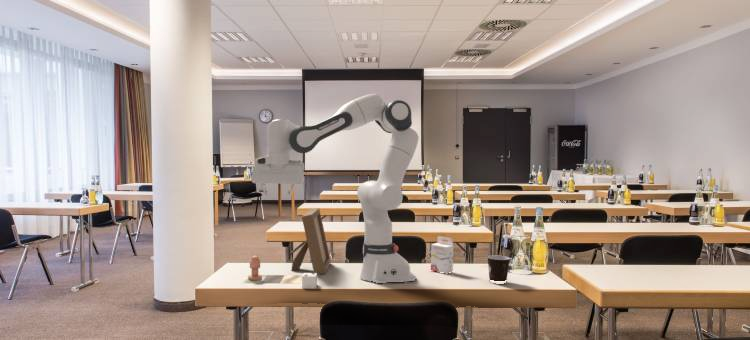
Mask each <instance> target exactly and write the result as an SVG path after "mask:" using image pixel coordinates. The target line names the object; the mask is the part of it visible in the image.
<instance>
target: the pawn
mask: <svg viewBox="0 0 750 340" xmlns="http://www.w3.org/2000/svg"><path fill="white" fill-rule="evenodd" d="M260 268H261V259H260V257H259V256H258V255H253V256H252V257H251V258H250V259H249V269H251V274H248V275H249V276H248V275H247V276H248V280H251V281H257V280H261V279H262V275H263V274H260V273H259V269H260Z"/></svg>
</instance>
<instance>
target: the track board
mask: <svg viewBox="0 0 750 340" xmlns="http://www.w3.org/2000/svg"><path fill="white" fill-rule="evenodd" d="M249 275H250V274H248V275H247V276H246V277H245V279H244V280H243V281H242V284H300V283H301V281H302V276H303V274H301V275H300V274H299V275H298V274H297V275H294V274H291V275H289V274H285V275H284V274H282V275H281V274H261V275H262V279H261V280H257V281H251V280H248V276H249Z"/></svg>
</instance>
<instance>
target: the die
mask: <svg viewBox="0 0 750 340" xmlns="http://www.w3.org/2000/svg"><path fill="white" fill-rule="evenodd" d="M317 284H318V274H317V273H314V272H303V274H302V278H301V289H317Z"/></svg>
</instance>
